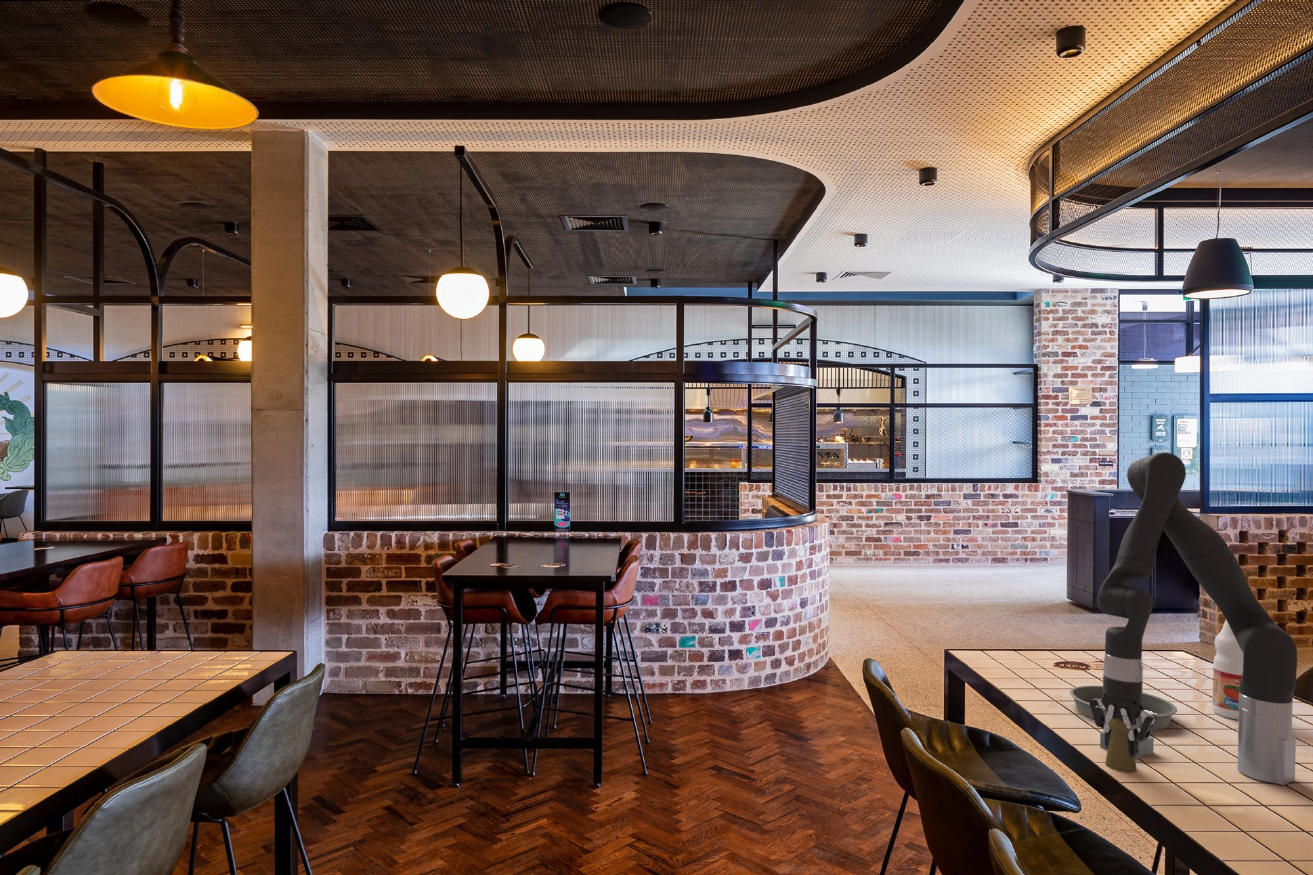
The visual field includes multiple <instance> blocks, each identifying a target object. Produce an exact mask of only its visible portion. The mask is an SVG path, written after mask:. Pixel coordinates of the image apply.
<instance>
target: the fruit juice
mask: <svg viewBox="0 0 1313 875" xmlns="http://www.w3.org/2000/svg"><path fill="white" fill-rule="evenodd" d="M1213 643H1214V647H1215V652H1216V654H1215V655H1214V657H1213V666H1212V668H1213V670H1212V671H1213V673H1212V711H1213V712H1214V714H1216V715H1218V716H1221V717H1224V718H1226V719H1230V720H1236V721H1239V682H1240V680H1241V678H1242V675H1243V651H1242V650H1241V649H1240V647H1239V645H1238V642H1237V640H1236V638H1235V636H1234V634H1233V632H1232V630H1231V628H1230V626H1229V624H1228V622H1227V620H1226V619H1225V620H1224V623H1223V626H1222V628H1221V629H1220V632H1218V634H1217V635H1216V636H1215V637H1214V642H1213Z"/></svg>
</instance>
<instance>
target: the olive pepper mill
mask: <svg viewBox="0 0 1313 875" xmlns="http://www.w3.org/2000/svg"><path fill="white" fill-rule="evenodd" d="M1108 725H1109V728H1110V730H1111V734H1110V740H1109V746H1108V750H1107V752H1106V757H1105V763H1104V764H1105V765H1106V767H1108V768H1110V769H1111V770H1115V771H1117V772H1122V773H1127V774H1130V773H1136V772H1137V763H1136V759H1135V756H1134V755H1133V757H1130V756H1129V748H1128V740H1130V739H1129V737H1128V734H1129V731H1130V730H1129V729H1127V727H1126V725H1125V723H1124V721H1123V720H1122V719H1120V718H1115V717H1113V718H1112V719H1111V720H1110V721H1109V723H1108ZM1131 725H1134V722H1132V723H1131ZM1134 732H1135V729H1134Z"/></svg>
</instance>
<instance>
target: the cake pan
mask: <svg viewBox="0 0 1313 875" xmlns="http://www.w3.org/2000/svg"><path fill="white" fill-rule="evenodd" d="M1069 695H1070V696H1071V697H1072V698H1073V699H1074V703H1075V708H1076V711H1077V712H1078V713H1080V714H1081V715H1082V716H1085V717H1087V718H1088V719H1091V720H1094V717H1093V714H1092V711H1091V707H1090V704H1089V700H1092V699H1095V698H1098V699H1101V698H1102V697H1103V695H1104V693H1103V685H1080V686H1076V687H1075V686H1074V687H1073V688H1071V689H1070V690H1069ZM1141 703H1142V706H1143V709H1144V710H1148V711H1152V712H1153V713H1157V714H1150V715H1156V717H1157V720H1156V722H1155V724H1154V726H1153V729H1152V731H1154V730H1155V731H1156V730H1157V729H1158V730H1163V729H1166V728H1168V727H1169V726H1170V722H1171V719H1172V716H1173V715H1175V714H1177V712H1178V708H1177V706H1176V705H1175V704H1174V703H1172V702H1170V701H1168V700H1166V699H1164V698H1161V697H1159V696H1156V695H1153V694H1150V693H1147V692H1143V691H1142V702H1141ZM1102 710H1103V713H1104V716H1105V718H1106V715H1107V711H1106V709H1105V707H1103V708H1102ZM1137 721H1138V725H1139V727H1138V728H1139V729H1141V727H1142V724H1143V722H1142V716H1141V715H1140V716H1139V717H1138V718H1137Z"/></svg>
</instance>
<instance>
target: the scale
mask: <svg viewBox="0 0 1313 875" xmlns="http://www.w3.org/2000/svg"><path fill="white" fill-rule="evenodd" d="M1138 730H1139V731H1140V729H1139V728H1138ZM1099 737H1100V738H1099V740H1100V741H1099V748H1101V749H1104V748H1105V749H1104V750H1107V751H1108V749H1107V746H1105V731H1104V730H1103V731H1100V734H1099ZM1154 739H1155V738H1154V737H1152V736H1150V735H1149V738H1147V739H1144V740H1142V741H1140V740H1139V749H1138V754H1137V755H1135V760H1138V759H1140V758H1139V757H1141V758H1143V757H1145V756H1144V755H1146V756H1148V755H1147V754H1149V755H1151V754H1153V753H1154V744H1155V740H1154ZM1142 756H1143V757H1142ZM1137 758H1138V759H1137Z"/></svg>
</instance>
